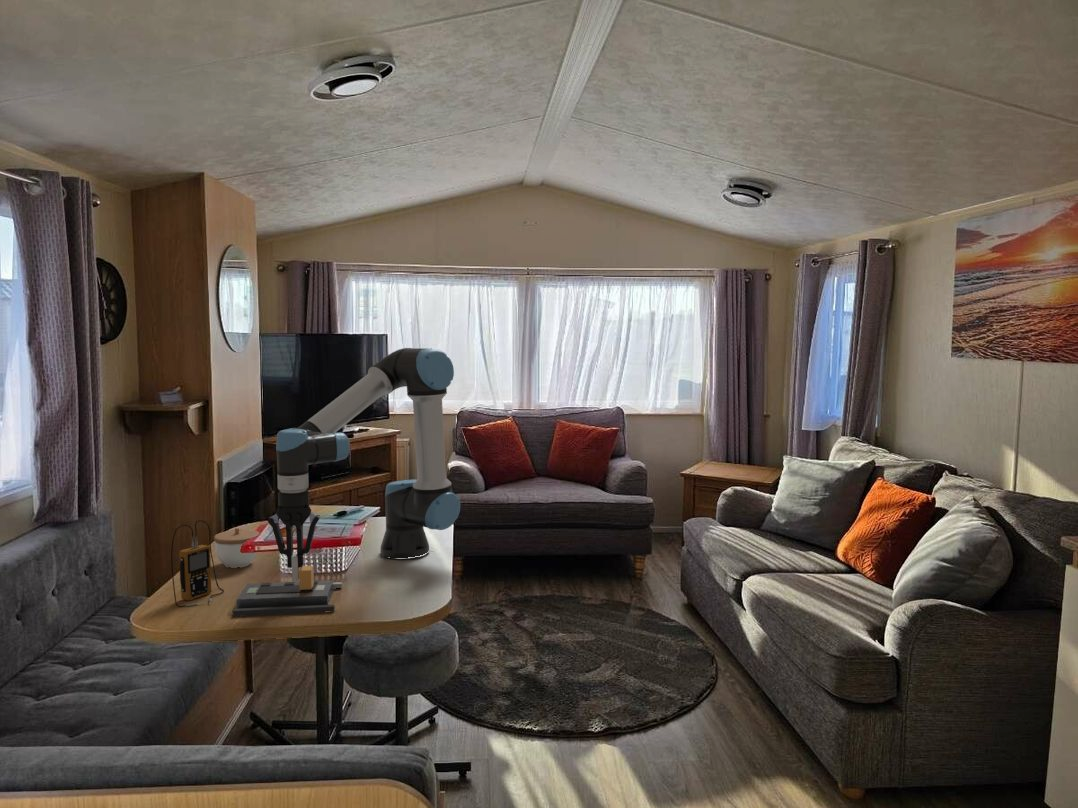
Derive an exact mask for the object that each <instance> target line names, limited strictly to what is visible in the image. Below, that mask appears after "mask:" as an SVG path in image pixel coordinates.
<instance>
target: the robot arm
mask: <svg viewBox="0 0 1078 808" xmlns="http://www.w3.org/2000/svg"><path fill="white" fill-rule="evenodd" d="M454 376H455V370H454V364H453V361H452V360H451V358H450V357H449V355H447V354H446V353H445V352H444V351H443V350H439V349H436V348H435V349H434V348H429V347H428V348H427V347H426V348H423V347H422V348H421V347H420V348H414V347H413V348H411V347H403V348H400V349H397V350H395V351H393V352H391V353H389V354H387V355H386V356H385V357H383V358H382V359H380V360H379V361H377V362H376V363H375V364H373V365H372V366H371V367H369V369H368V371H367V374H366V375H365V376H363V377H362V378H361V379H359V380H358V381H357V382H356V383H354V384H353V385H352V386H350V387H349V388H348V389H346V390H345V391H344V392H343V393H341V394H340V395H339V396H338V397H336V398H334V400H332V401H331V402H330V403H328V404H327V405H326V406H325V407H323V408H322V409H320V410H319V411H318V412H317V413H316V414H314V415H313V416H311V417H310V418H309V419H308V420H306V421H305V422H303V424H301V425H299V426H297V427H291V428H286V429H283V430H282V429H281V430H279V431H278V432H277V434H276V443H275V444H276V445H275V450H276V467H277V476H276V477H277V489H278V492H277V498H278V499H277V503H278V504H277V505H278V507H277V510H276V512H275V514H274V515H272V516H270V517H268V519H267V523H268V524H269V526H271V528H272V532H273V534H274V539H275V542H276V546H277V548H278V552H279V555H284V556H286V559H287V561H286V562H287V563H286V564H287V565H286V566H287V568H288V569H291V582H299V570H300V568H301V567H302V566H304V555H305V554H308V553H310V550H311V548H312V543H313V539H314V535H315V534H314V533H315V530H316V526H317V523H318V522H319V520H320V518H321V516H320V515H319V514H316V513H314V512H312V509H311V507H310V494H309V493H310V492H309V490H308V488H310V487H309V483H310V482H309V465H317V464H323V463H331V462H339V461H342V460H346V459H347V457H348V456H349V455H350V451H351V443H350V440H349V437H348V435H346V434H345V433H344V432H338V431H339V430H341V428H343V427H344V426H345V425H347V424H348V423H349V422H350V421H352V420H353V419H354V418H355V417H357V416H358V415H359V414H360V413H362V412H363V411H364V410H366V409H367V408H368V407H369V406H371V405H372V404H373V403H374V402H376V401H377V400H378V399H379V398H380V397H382V396H383V395H390V394H391V393H393V391H395V390H398V389H400V388H405V387H406V395H407V397H408V398H409V399H410V400H411V401H412V407H413V409H412V410H413V424H414V425H413V426H414V440H415V441H414V445H415V461H416V478H417V479H404V480H397V481H396V480H395V481H391V482H389V483H387V484H386V486H385V492H384V493H385V494H384V497H385V502H384V503H385V505H384V506H385V531H384V534H383V538H382V541H381V543H380V544H381V545H380V555H381V556H382V555H383V556H384V557H383V556H382V557H383V558H385V557H390V558H408V557H415V556H420V555H423V554H425V553H427V552H428V551H429V552H430V544H429V541H428V538H427V535H426V532H425V529H424V528H427V529H429V530H437V531H445V530H447V529H448V528H451V526H453V524H454V523H455V522H456V520H458V517H459V514H460V512H461V500H460V498H459V496H457V494H455V493H454V492H453V489H452V482H451V481H450V480H449V479H448V478H447V471H446V469H447V468H446V453H445V452H446V451H445V434H444V433H445V431H444V413H443V412H444V410H443V399H444V397H446V395H447V394H448V392H447V391H448V389H447V388H448V387H449V386H451V383H452V381H453V380H454ZM308 518H309V522H310V524H309V525H310V526H309V528H308V532H307V537H306V541H305V546H304V524H305V522H306V521H307V520H308ZM279 520H280V521H281V523H283V525H284V526H285V535H286V536H285V537H286V540H285V541H286V545H285V541H284V537H283V533H282V531H281V530H282V529H281V527H280V524H279ZM294 527H295V530H296V553H294V551H295V550H294V533H293V529H294Z"/></svg>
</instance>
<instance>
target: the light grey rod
mask: <svg viewBox="0 0 1078 808" xmlns="http://www.w3.org/2000/svg"><path fill="white" fill-rule="evenodd" d="M336 588H342V589H343V582H341V581H340V582H339V581H338V582H337V581H336V582H334V581H333V590H337V589H336Z"/></svg>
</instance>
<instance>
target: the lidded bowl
mask: <svg viewBox="0 0 1078 808" xmlns="http://www.w3.org/2000/svg"><path fill="white" fill-rule="evenodd" d="M258 535H260V532H259V531H257V530H255V529H245V528H244V529H240V528H239V527H235V528H234V529H233V530H226V531H222V532H220V533H216V534H215V535H214V536H213V542H214V549H215V554H216V556H217V559H218V560H219V562H221V563H222V564H223V565H224V566H226V568H228V567H231V568H230V569H238V568H237V567H240V568H245V567H248V566H249V565H251V564H252V562H253V561H254V559H256V558H257V555H258V553H241V552H240V549H241V546H242V544H243V543H244V542H246V541H247V540H249V539H250V538H254V537H256V536H258Z"/></svg>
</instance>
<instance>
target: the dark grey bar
mask: <svg viewBox="0 0 1078 808" xmlns="http://www.w3.org/2000/svg"><path fill="white" fill-rule="evenodd" d="M335 608H336V607H335V604H328V605H315V606H292V607H268V608H245V609H237V608H234V609H233V610H232V617H252V616H253V617H255V616H275V615H277V616H279V615H299V614H301V613H302V614H316V613H315V612H325V611H334V612H335V610H334V609H335ZM325 613H326V612H325Z"/></svg>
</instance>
